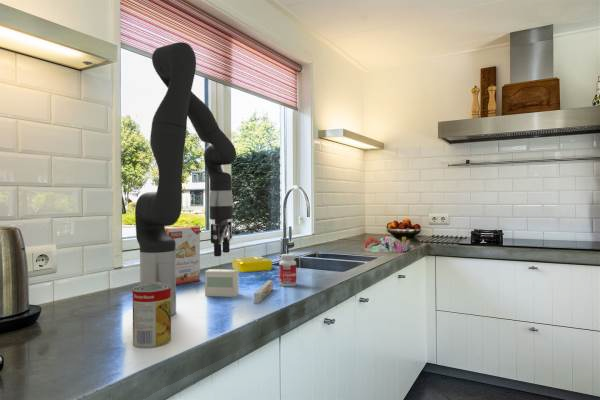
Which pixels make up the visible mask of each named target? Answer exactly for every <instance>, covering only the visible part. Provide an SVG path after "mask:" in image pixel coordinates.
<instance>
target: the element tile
mask: <svg viewBox="0 0 600 400" xmlns="http://www.w3.org/2000/svg"><path fill="white" fill-rule="evenodd" d="M231 261H232V264H231V265H232V270H238V273H252V272H262V271H263V272H264V271H271V270H272V269H273V261H272V260H271V259H269V258H266V257H263V256H250V257H237V258H233V259H232V260H231ZM272 271H273V270H272Z"/></svg>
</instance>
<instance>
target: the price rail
mask: <svg viewBox="0 0 600 400" xmlns="http://www.w3.org/2000/svg"><path fill="white" fill-rule="evenodd" d="M273 289H274V282H273V280H270V279H268V280H267V281H266V282H264V283H263V284H262V285H261V286H260V287H259V288H258V289H257V290H256V291H255V292H254V293H253V304H260V303H262V301H264V299H266V297H267V296H268V295H269V294H270V293H271V292H272V291H273Z"/></svg>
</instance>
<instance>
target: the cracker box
mask: <svg viewBox="0 0 600 400" xmlns="http://www.w3.org/2000/svg"><path fill="white" fill-rule="evenodd" d="M165 231H166V233H167V234H168V235H169V236H170V237H171V238H173V239H174V240H175V245H176V249H175V250H176V285H180V284H181V285H182V284H188V283H193V282H197V281H200V278H201V276H200V274H201V273H200V267H201V265H200V264H201V227H200V226H190V225H189V226H174V227H171V226H170V227H165Z"/></svg>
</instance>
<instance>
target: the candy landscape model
mask: <svg viewBox="0 0 600 400" xmlns="http://www.w3.org/2000/svg"><path fill="white" fill-rule="evenodd" d="M410 240H411V239H407V237H406V236H402V237H401V240H400V239H397V237H393V236H388V235H387V236H385V237H381V238H380V239H379V240H378V239H377V238H376V237H375V238H373V237H372V236H368V237H367V238H366V241H365V242H364V245H363V247H364V249H365V250H368V251H372V252H371V253H374V252H389V251H397V250H398V251H402V250H403V251H406V252H407V250H408V249H409V248H408V247H409V245H410V243H411V241H410ZM373 243H375V244H373ZM371 244H373V245H371ZM369 245H371V247H368V246H369ZM365 250H364V251H365ZM368 251H367V252H368Z"/></svg>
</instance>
